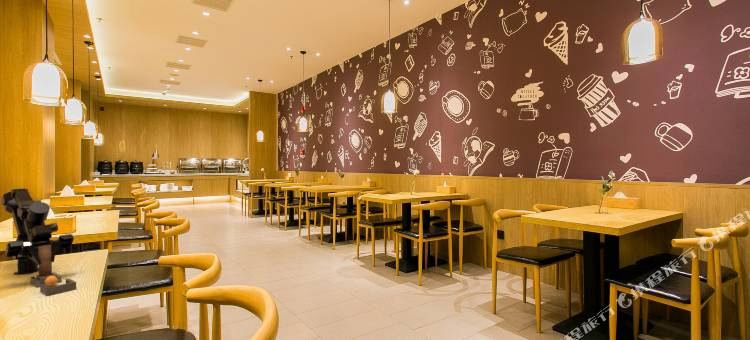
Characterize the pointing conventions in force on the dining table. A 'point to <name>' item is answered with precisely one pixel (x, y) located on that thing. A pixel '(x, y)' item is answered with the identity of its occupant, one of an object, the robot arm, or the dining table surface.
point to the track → (36, 281)
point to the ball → (51, 281)
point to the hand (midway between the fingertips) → (46, 262)
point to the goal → (58, 288)
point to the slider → (44, 263)
